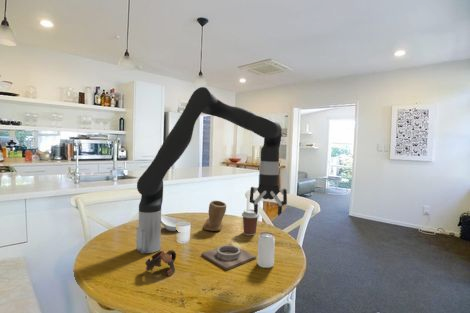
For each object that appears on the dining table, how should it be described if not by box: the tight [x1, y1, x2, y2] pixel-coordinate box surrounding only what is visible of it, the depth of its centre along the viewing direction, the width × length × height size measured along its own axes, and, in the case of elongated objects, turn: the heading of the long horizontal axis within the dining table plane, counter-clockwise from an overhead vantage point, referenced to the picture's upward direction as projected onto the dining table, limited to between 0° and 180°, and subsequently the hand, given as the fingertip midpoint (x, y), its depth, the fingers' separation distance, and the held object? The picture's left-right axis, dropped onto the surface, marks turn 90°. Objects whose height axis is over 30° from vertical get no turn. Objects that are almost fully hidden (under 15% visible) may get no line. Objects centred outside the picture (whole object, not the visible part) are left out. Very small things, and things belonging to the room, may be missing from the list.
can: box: [256, 231, 276, 269], centre depth 99 cm, size 6×6×12 cm
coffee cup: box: [241, 209, 260, 236], centre depth 133 cm, size 9×9×12 cm
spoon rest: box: [161, 214, 185, 232], centre depth 138 cm, size 24×12×7 cm, turn 76°
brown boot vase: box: [203, 200, 227, 232], centre depth 140 cm, size 15×12×15 cm
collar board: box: [201, 243, 257, 271], centre depth 105 cm, size 16×16×3 cm
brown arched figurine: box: [145, 249, 177, 277], centre depth 93 cm, size 12×10×8 cm
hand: (267, 214), depth 99 cm, fingers open, 8 cm apart
